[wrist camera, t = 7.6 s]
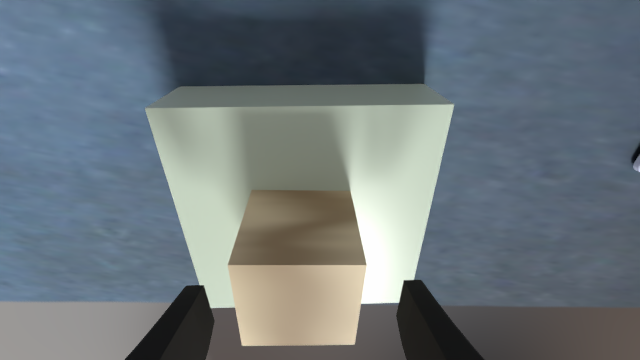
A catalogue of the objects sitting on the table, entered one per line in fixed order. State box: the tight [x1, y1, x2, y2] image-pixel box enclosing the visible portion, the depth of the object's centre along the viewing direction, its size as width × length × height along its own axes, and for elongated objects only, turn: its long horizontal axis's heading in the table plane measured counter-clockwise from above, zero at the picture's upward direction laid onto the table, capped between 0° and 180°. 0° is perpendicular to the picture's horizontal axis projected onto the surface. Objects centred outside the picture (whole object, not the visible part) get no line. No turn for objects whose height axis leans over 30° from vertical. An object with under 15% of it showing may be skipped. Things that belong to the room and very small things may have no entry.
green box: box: [145, 84, 454, 308], centre depth 16 cm, size 12×12×4 cm
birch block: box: [228, 190, 367, 346], centre depth 13 cm, size 4×4×4 cm
